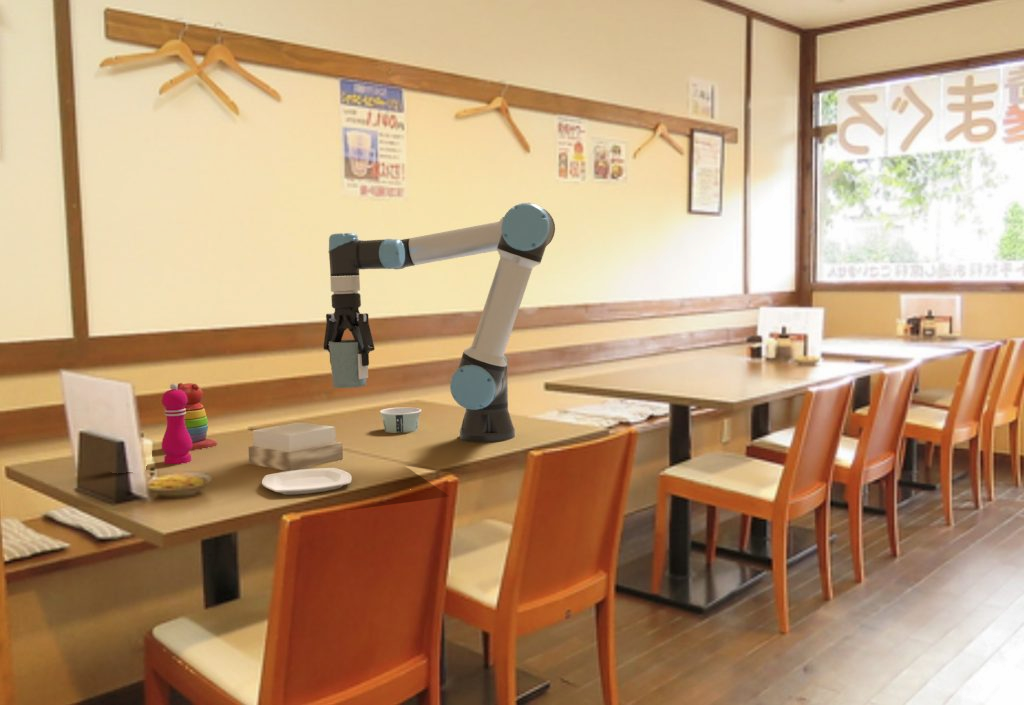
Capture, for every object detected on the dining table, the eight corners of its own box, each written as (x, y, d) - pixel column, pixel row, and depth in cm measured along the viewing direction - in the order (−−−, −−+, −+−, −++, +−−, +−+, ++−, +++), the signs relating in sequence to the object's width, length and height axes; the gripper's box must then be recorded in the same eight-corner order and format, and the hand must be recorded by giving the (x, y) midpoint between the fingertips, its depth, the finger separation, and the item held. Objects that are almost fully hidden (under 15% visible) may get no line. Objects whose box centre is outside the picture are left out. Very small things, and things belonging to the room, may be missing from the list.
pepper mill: (157, 463, 221) (152, 383, 219) (184, 458, 227) (180, 380, 225) (170, 466, 216) (166, 385, 215) (198, 461, 222) (194, 382, 220)
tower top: (335, 442, 219) (335, 426, 219) (289, 452, 208) (289, 435, 208) (299, 437, 228) (298, 422, 227) (253, 446, 217) (252, 430, 217)
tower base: (343, 462, 220) (342, 442, 219) (291, 474, 207) (290, 453, 207) (301, 455, 230) (300, 436, 229) (249, 466, 217) (248, 446, 217)
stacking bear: (220, 445, 242) (217, 381, 241) (193, 452, 233) (189, 386, 232) (190, 443, 247) (187, 380, 245) (162, 450, 238) (159, 384, 236)
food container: (424, 434, 253) (424, 412, 252) (382, 437, 250) (382, 414, 250) (418, 427, 265) (418, 406, 264) (378, 430, 262) (377, 408, 261)
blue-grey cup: (332, 384, 238) (330, 340, 237) (370, 382, 239) (368, 338, 238) (329, 389, 228) (326, 342, 227) (368, 387, 229) (366, 341, 228)
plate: (268, 502, 182) (268, 493, 182) (256, 482, 200) (256, 474, 199) (360, 491, 189) (360, 482, 189) (341, 473, 207) (340, 465, 207)
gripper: (386, 291, 228) (390, 377, 230) (328, 292, 241) (332, 374, 243) (364, 292, 222) (369, 381, 224) (306, 293, 235) (311, 377, 237)
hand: (350, 377), depth 234 cm, fingers closed on blue-grey cup, 10 cm apart
